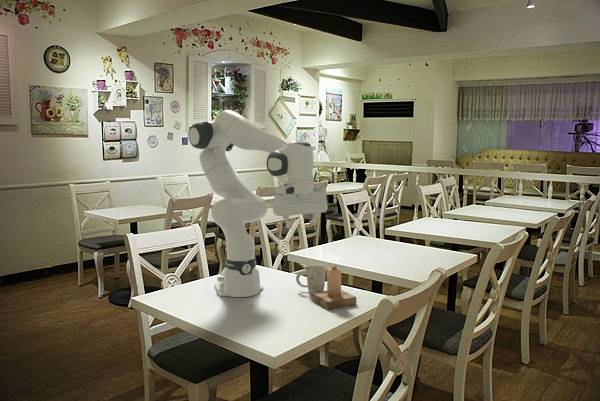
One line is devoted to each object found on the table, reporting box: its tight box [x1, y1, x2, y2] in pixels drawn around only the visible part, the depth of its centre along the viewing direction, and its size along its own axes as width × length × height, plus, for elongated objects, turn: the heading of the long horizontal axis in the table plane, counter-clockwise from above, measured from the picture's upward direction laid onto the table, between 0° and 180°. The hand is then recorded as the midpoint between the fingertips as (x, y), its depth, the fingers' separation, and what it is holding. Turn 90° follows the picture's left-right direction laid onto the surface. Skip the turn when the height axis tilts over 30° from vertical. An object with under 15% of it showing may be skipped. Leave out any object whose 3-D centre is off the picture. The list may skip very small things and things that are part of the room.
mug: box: [295, 265, 327, 295], centre depth 203 cm, size 8×13×10 cm, turn 78°
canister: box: [326, 265, 342, 297], centre depth 189 cm, size 5×5×11 cm
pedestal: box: [312, 289, 357, 311], centre depth 190 cm, size 12×12×3 cm
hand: (300, 226), depth 176 cm, fingers open, 8 cm apart
